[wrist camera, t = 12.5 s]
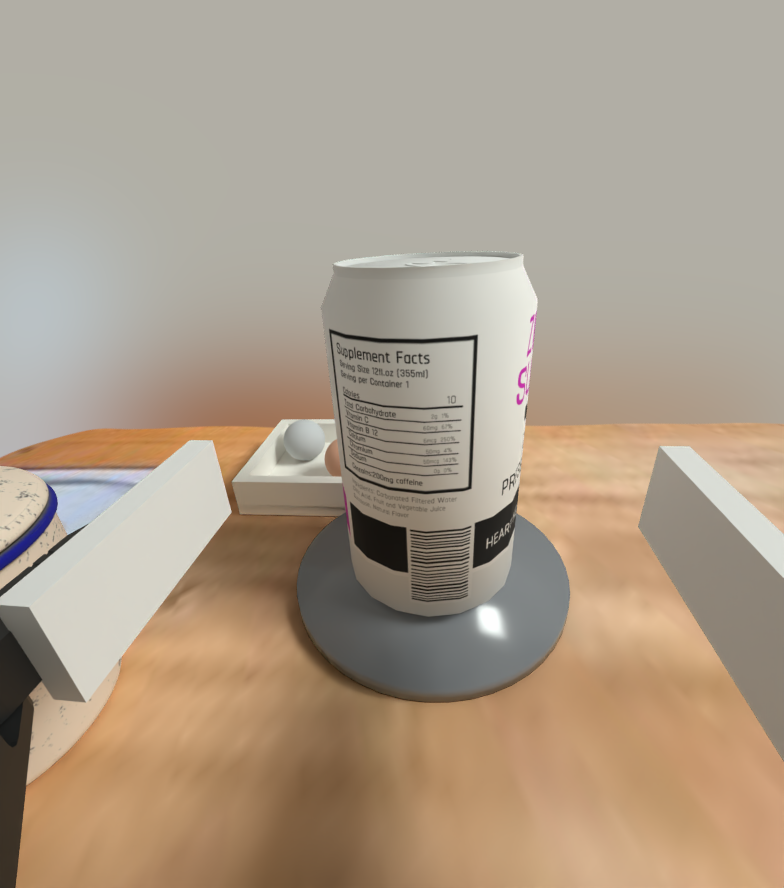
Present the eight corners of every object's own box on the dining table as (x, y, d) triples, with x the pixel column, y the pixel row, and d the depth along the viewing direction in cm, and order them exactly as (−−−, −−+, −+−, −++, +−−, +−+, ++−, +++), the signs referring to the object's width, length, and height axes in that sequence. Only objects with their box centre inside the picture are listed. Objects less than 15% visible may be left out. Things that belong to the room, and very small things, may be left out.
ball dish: (398, 446, 37) (397, 419, 36) (385, 517, 28) (383, 483, 27) (286, 446, 38) (281, 419, 37) (239, 514, 29) (231, 481, 28)
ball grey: (331, 448, 35) (326, 413, 34) (321, 468, 33) (316, 430, 31) (294, 448, 36) (288, 413, 34) (281, 467, 33) (274, 430, 31)
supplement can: (333, 542, 25) (293, 261, 18) (456, 503, 28) (461, 248, 21) (390, 655, 18) (360, 276, 11) (544, 588, 21) (595, 253, 14)
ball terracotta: (374, 467, 32) (371, 428, 31) (367, 490, 29) (364, 449, 28) (332, 467, 33) (327, 429, 31) (322, 490, 30) (316, 449, 28)
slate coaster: (536, 502, 29) (538, 492, 28) (609, 715, 16) (613, 702, 16) (332, 498, 30) (331, 489, 30) (257, 690, 18) (253, 677, 17)
